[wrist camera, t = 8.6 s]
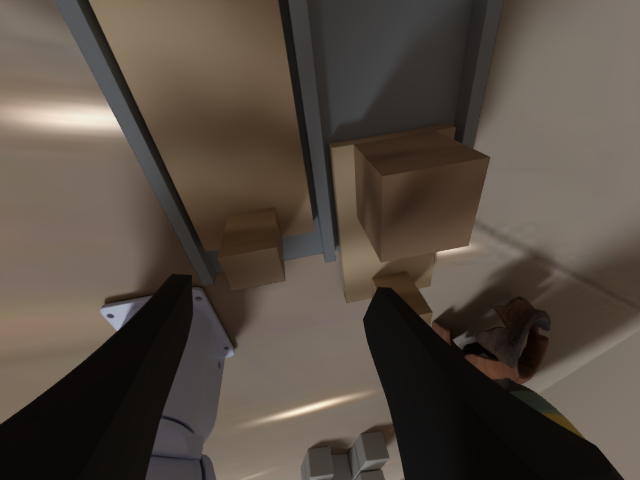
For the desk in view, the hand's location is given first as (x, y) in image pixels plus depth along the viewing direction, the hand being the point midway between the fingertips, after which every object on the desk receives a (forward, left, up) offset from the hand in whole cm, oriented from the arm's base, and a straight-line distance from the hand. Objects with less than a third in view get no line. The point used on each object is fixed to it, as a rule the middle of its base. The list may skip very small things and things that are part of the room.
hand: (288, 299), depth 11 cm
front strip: (+4, +2, -10) cm, 11 cm away
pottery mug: (-20, -18, -10) cm, 29 cm away
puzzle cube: (-49, 0, -10) cm, 50 cm away
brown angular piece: (-4, -7, -10) cm, 13 cm away
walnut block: (0, -7, -8) cm, 11 cm away
